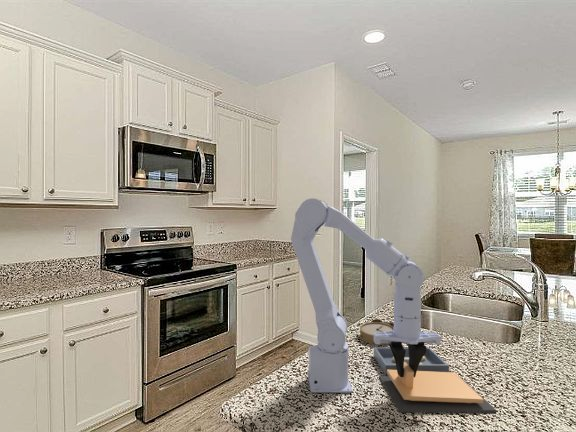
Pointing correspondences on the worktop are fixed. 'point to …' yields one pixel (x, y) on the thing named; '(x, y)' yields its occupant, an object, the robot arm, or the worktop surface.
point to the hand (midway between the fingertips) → (406, 375)
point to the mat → (432, 406)
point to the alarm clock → (374, 330)
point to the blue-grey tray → (426, 364)
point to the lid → (433, 386)
